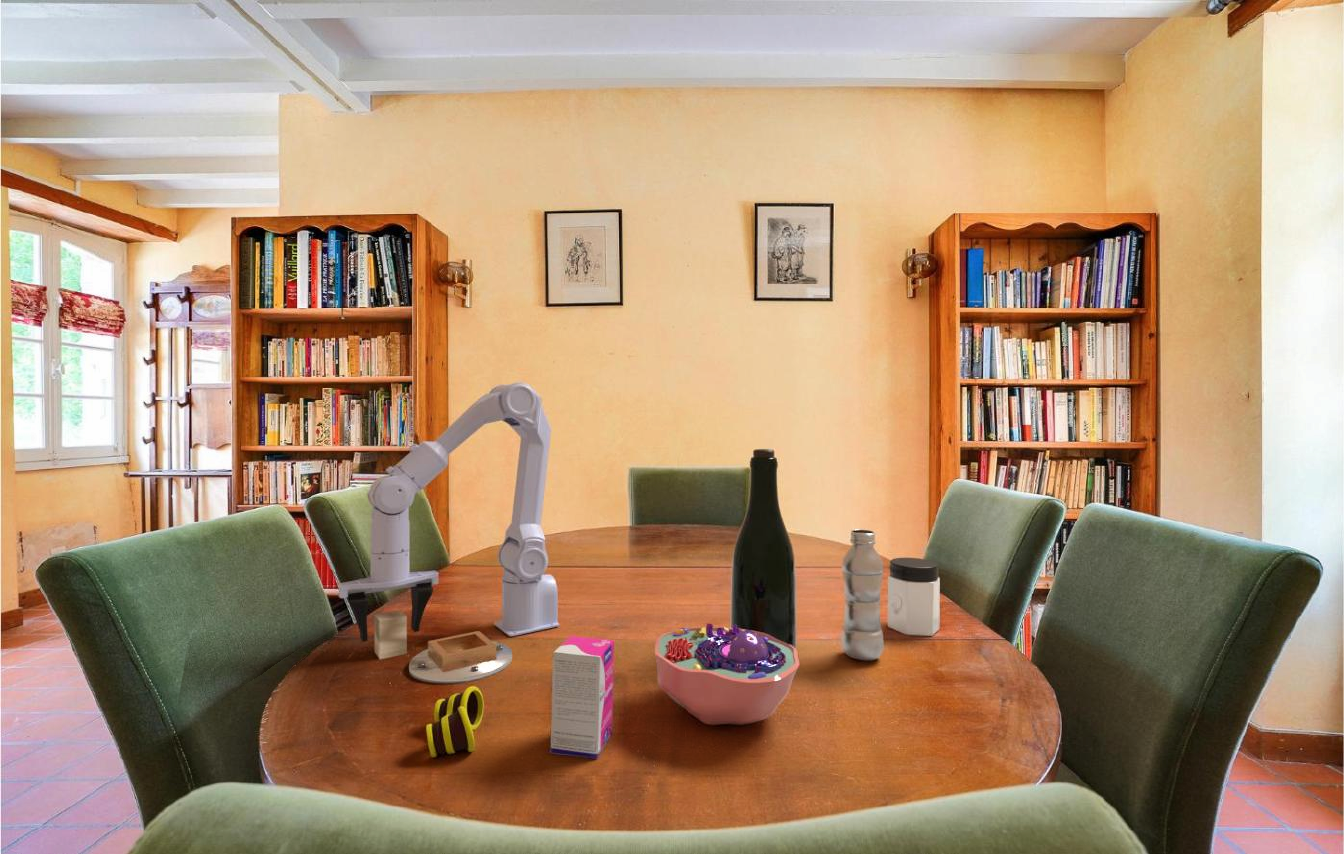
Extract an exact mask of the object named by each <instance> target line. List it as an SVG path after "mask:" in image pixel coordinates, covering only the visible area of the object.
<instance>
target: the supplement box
mask: <svg viewBox="0 0 1344 854" xmlns="http://www.w3.org/2000/svg"><path fill="white" fill-rule="evenodd" d="M614 656H615V640H613V639H605V638H593V637H584V636H576V635H575V636H573V635H570V637H568V639H566V640H565V641H564V642H563V643H562V644H561V645H560V646H559V647H557V648H556V649H555V651H553V653H552V676H551V679H552V681H551V682H552V683H551V684H552V685H551V719H550V720H551V727H550V729H551V730H550V750H549V753H550V754H553V755H554V754H555V755H563V756H570V757H571V756H572V757H580V758H586V759H587V758H588V759H598V757H599V756H600V753H601V752H602V750H603V748H604V746H605V745H606V743H607V742H608V741H609V739H610V738H611V735H612V734H613V711H614V710H613V706H614V704H613V703H614V699H613V697H614V667H615V666H614V665H615V657H614Z"/></svg>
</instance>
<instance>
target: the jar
mask: <svg viewBox="0 0 1344 854" xmlns="http://www.w3.org/2000/svg"><path fill="white" fill-rule="evenodd" d="M940 580H941V579H940V577H939V564H938V563H936V562H935V561H934V560H933V561H932V560H931V559H925V558H920V557H919V558H918V557H897V558H896V557H895V558H892V559H891V560H890V561H889V575H888V576H887V627H888V628H890V629H892V630H893V631H897V632H898V633H902V634H903V635H906V636H919V637H920V636H921V637H926V636H927V637H933V636H934V635H936V634H937V632H938V631H939V630H940V610H941V609H940V607H941V606H940V605H941V604H940V603H941V602H940V600H941V599H940V597H941V596H940V593H941V592H940V589H941V587H940V586H941V585H940V584H941V583H940V582H941V581H940Z"/></svg>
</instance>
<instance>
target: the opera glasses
mask: <svg viewBox="0 0 1344 854" xmlns="http://www.w3.org/2000/svg"><path fill="white" fill-rule="evenodd" d="M484 703H485V702H484V697H483V694H482V691H481V689H480V688H478V687H477V686H475V685H472V686H469V687H467V688H465V690H464V691H463V692H461V693H454V694H452V695H451V696H449V697H446V698H440V699H437V701H436V702H435V705H434V708H433V709H434V711H433V717H434V718H433V719H434V724H432V723H429V724H426V726H425V729H426V730H425V731H426V738H427V746H428V749H429V754H430V757H431V758H436V757H437V756H438V754H440V755H444V754H445V753H447V754H448V755H450V754H455V753H456V752H457V751H463V750H467V752H469V753H471V752H473V751H474V750H475V748H476V747H475V746H476V745H475V737H474V735H475V734H474V731H475V730H476V729H477V728H479V726H480V724H481V722H482V719H483V715H484V711H485V710H484V708H485V707H484V706H485V705H484Z"/></svg>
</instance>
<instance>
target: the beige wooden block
mask: <svg viewBox="0 0 1344 854" xmlns="http://www.w3.org/2000/svg"><path fill="white" fill-rule="evenodd" d="M407 620H408V617H407V615H406V614H405V613H404V612H403V611H402V610H394V611H390V612H383V613H378V614H374V653H375V655H376V656H377V657H378V659H379V660H384V659H387V658H388V659H389V658H392V657H393V658H394V657H397V656H402V655H403V656H404V655H406V654H408V649H407V647H408V643H407V640H408V637H407V636H408V635H407V634H408V628H407V627H408V624H407V623H408V621H407Z"/></svg>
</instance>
